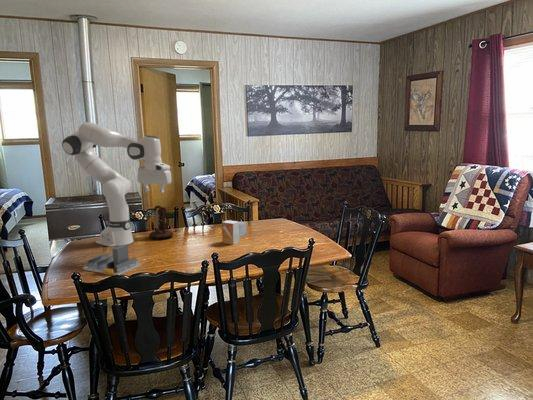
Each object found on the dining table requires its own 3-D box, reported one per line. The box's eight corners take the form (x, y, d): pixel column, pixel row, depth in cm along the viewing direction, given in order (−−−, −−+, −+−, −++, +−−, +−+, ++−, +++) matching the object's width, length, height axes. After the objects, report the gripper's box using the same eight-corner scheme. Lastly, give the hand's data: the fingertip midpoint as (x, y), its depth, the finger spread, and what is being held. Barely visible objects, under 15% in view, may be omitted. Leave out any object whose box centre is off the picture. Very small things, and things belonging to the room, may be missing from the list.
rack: (81, 270, 193) (81, 261, 192) (107, 259, 208) (107, 251, 207) (116, 276, 184) (116, 267, 184) (141, 265, 199) (140, 256, 199)
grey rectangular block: (113, 268, 191) (112, 248, 190) (124, 264, 198) (122, 244, 196) (118, 269, 190) (117, 249, 188) (129, 264, 196) (127, 245, 195)
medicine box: (241, 234, 257) (241, 221, 256) (246, 235, 254) (246, 222, 253) (233, 236, 251) (232, 223, 250) (238, 237, 248) (238, 224, 247)
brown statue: (145, 236, 253) (143, 206, 249) (167, 233, 261) (166, 203, 258) (154, 241, 241) (152, 209, 238) (177, 237, 250) (175, 206, 246)
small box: (222, 243, 237) (221, 222, 234) (228, 240, 242) (227, 219, 240) (233, 245, 233) (232, 223, 230) (239, 242, 238) (239, 221, 236)
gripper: (133, 166, 212) (135, 191, 215) (165, 167, 204) (166, 193, 207) (141, 165, 218) (143, 190, 220) (172, 166, 210) (173, 192, 212)
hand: (154, 191), depth 213 cm, fingers open, 8 cm apart
